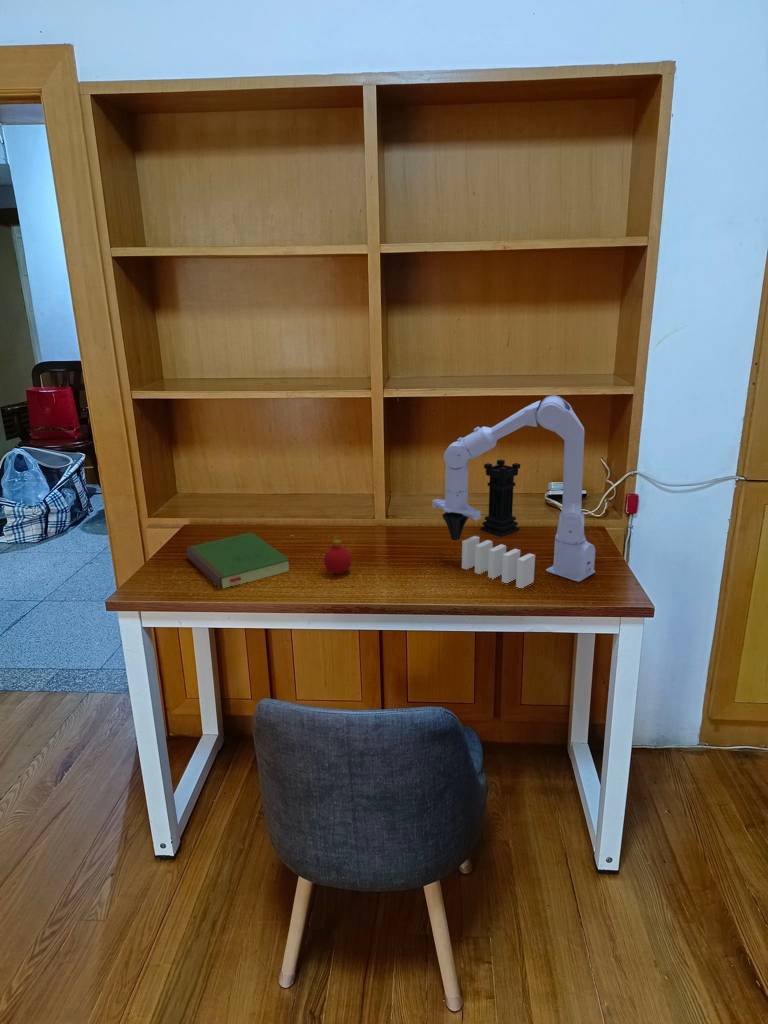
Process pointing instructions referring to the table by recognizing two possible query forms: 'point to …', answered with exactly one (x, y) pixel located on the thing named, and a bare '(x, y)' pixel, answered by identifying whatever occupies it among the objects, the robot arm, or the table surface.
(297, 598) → the table surface
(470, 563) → the domino
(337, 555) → the christmas ornament
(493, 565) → the domino
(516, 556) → the domino
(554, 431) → the robot arm
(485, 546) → the domino
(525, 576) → the domino
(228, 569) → the hardcover book
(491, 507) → the chess piece
